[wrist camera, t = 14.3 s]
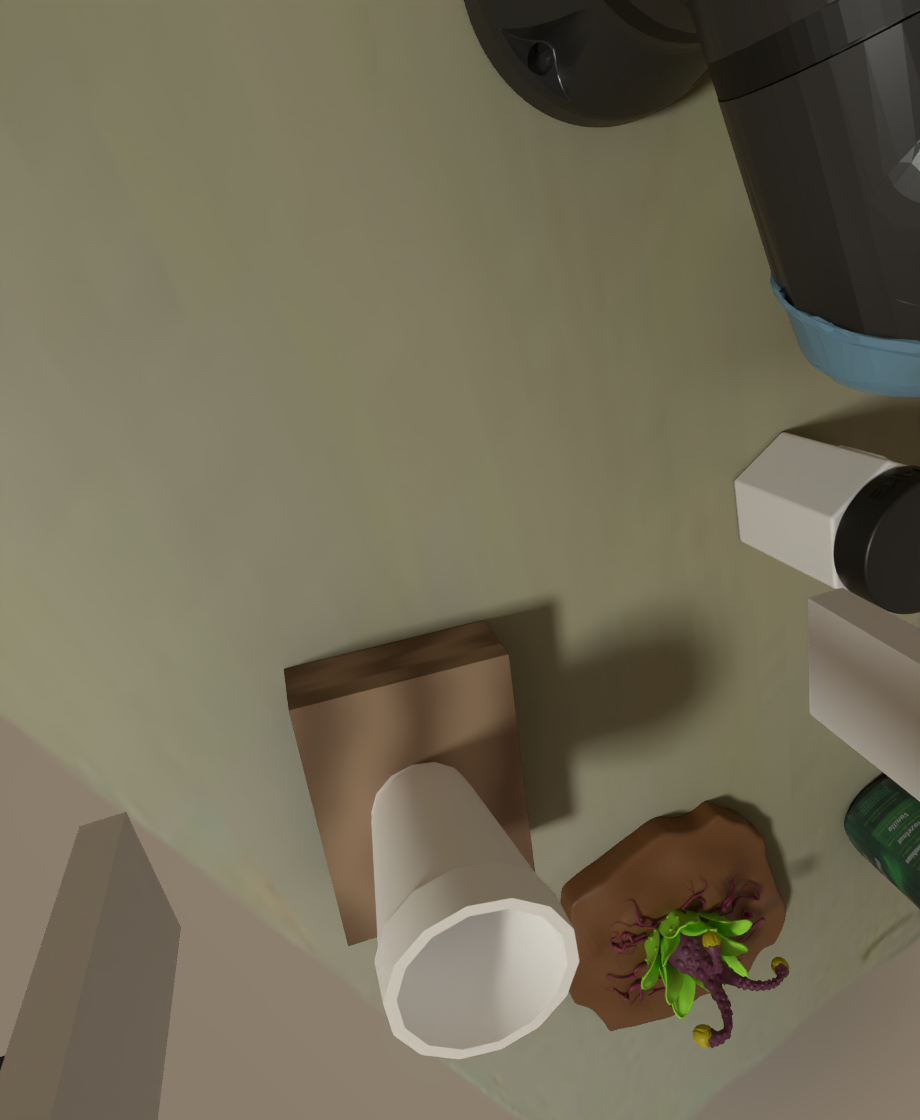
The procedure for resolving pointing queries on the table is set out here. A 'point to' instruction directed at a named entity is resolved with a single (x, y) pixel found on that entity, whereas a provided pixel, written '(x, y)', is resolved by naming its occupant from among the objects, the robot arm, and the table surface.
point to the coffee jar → (888, 833)
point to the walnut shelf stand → (403, 742)
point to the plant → (674, 920)
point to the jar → (836, 517)
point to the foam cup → (461, 920)
